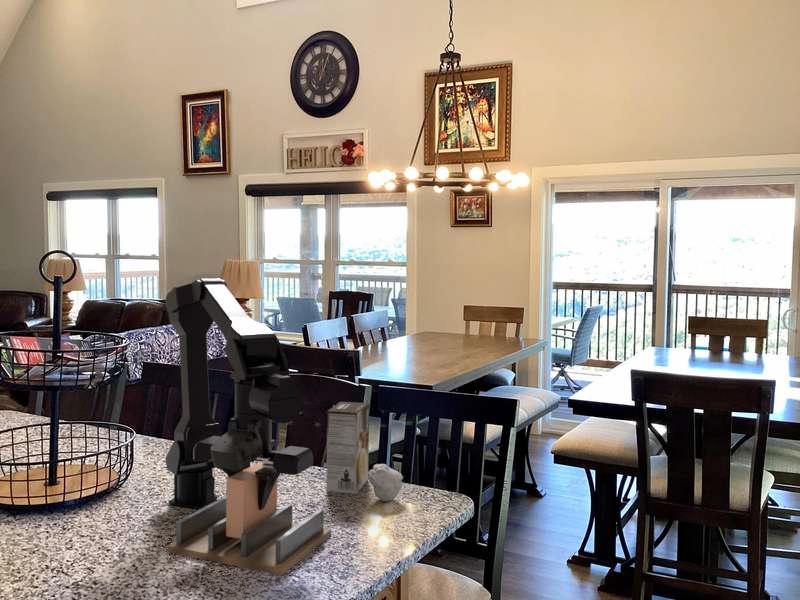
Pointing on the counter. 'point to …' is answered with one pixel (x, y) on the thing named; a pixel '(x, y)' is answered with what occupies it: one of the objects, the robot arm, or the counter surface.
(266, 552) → the rack base
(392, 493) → the white rounded lump
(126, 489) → the counter surface
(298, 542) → the rack dividers
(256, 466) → the peach rectangular block
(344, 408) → the coffee box
